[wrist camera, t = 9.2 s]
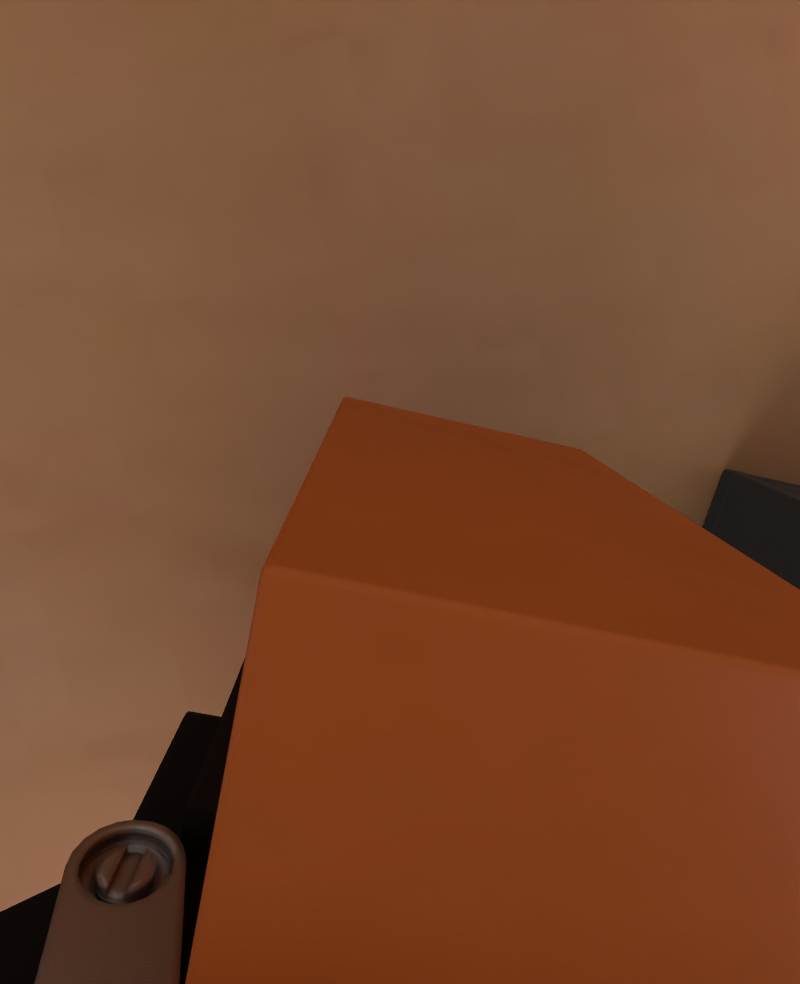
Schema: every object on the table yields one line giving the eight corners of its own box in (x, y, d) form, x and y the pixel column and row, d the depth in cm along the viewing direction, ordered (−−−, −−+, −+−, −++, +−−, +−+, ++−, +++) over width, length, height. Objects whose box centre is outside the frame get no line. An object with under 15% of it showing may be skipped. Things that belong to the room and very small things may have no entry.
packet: (582, 449, 12) (993, 710, 4) (430, 943, 15) (486, 1648, 7) (343, 396, 11) (259, 563, 3) (237, 915, 14) (65, 1629, 6)
